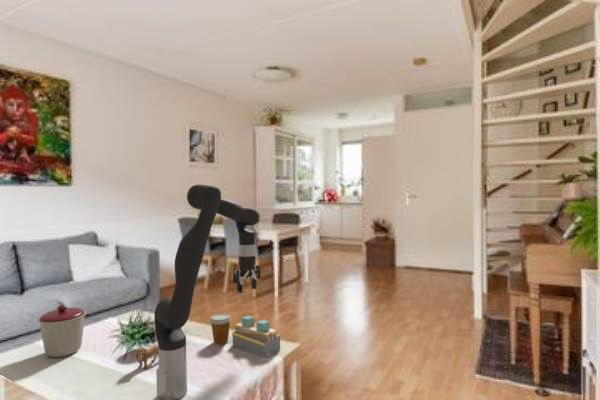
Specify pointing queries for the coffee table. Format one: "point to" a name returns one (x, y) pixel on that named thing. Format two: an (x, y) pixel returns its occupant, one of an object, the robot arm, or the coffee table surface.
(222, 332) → the disposable coffee cup
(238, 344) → the block
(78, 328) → the canister
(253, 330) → the pallet
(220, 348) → the coffee table surface
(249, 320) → the block
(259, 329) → the teal cube
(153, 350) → the lion figurine
